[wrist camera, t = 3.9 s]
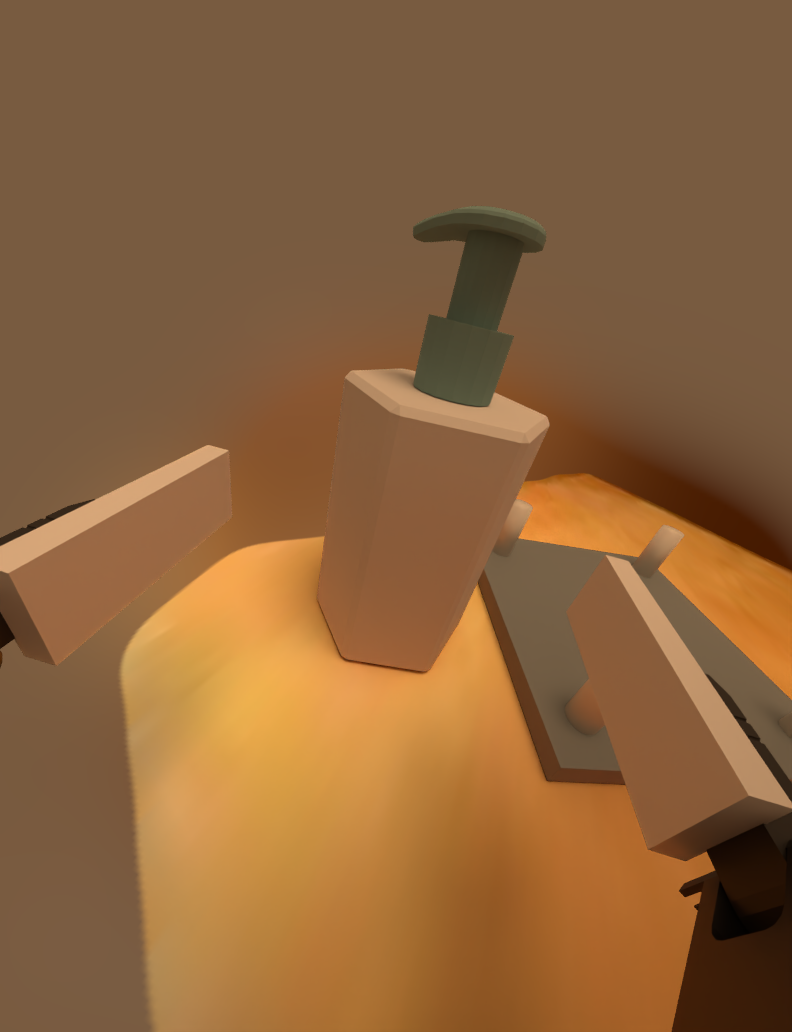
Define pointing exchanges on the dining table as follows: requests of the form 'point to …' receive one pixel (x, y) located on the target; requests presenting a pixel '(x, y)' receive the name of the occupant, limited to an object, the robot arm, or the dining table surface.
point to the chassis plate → (559, 665)
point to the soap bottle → (429, 461)
